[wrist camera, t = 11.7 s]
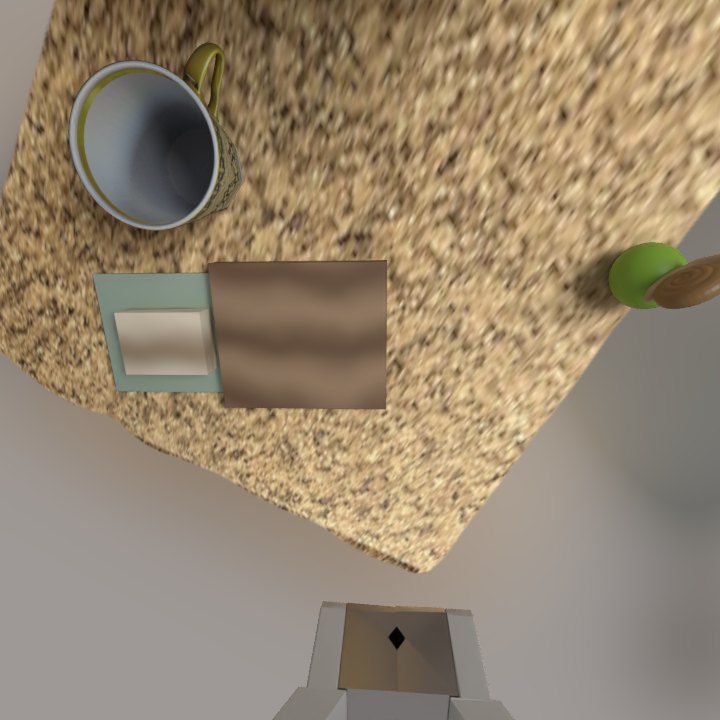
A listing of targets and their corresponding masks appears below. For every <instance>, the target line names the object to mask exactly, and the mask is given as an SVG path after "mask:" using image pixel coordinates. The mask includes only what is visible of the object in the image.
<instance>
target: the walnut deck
mask: <svg viewBox="0 0 720 720" xmlns="http://www.w3.org/2000/svg"><path fill="white" fill-rule="evenodd" d="M208 271H209V279H210V287H211V295H212V303H213V311H214V319H215V328H216V336H217V344H218V352H219V360H220V368H221V377H222V385H223V393H224V401H225V407H235V408H317V409H386V329H387V260H377V261H269V262H214V263H208Z"/></svg>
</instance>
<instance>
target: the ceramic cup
mask: <svg viewBox="0 0 720 720" xmlns="http://www.w3.org/2000/svg"><path fill="white" fill-rule="evenodd" d="M214 55H216V60H215V67H214V72H213V77H212V83H211V98H210V102H209V105H208V106H207V104H206V102H205V100H204V96H203V93H202V85H203V81H204V78H205V75H206V72H207V69H208V66H209V64H210V62H211V60H212V58H213V56H214ZM224 64H225V58H224V53H223V51H222V50H221V48H220V47H219V46H218V45H216V44H213V43H205V44H202V45H201V46H199V47H198V48H197V49H196V50H195V51H194V52H193V54H192V55H191V56H190V58H189V60H188V62H187V64H186V67H185V71H184V77H183V79H181V78H180V77H178V76H177V75H175V74H174V73H172V72H171V71H169V70H167V69H165V68H163V67H161V66H159V65H156V64H153V63H150V62H145V61H139V60H126V61H119V62H115V63H112V64H110V65H107V66H105V67H103V68H101V69H100V70H98V71H97V72H96V73H94V74H93V75H92V76H91V77H90V78H89V79H88V80H87V81H86V82H85V83H84V85H83V86H82V88H81V89H80V91H79V92H78V94H77V96H76V98H75V101H74V103H73V106H72V110H71V114H70V120H69V144H70V151H71V155H72V159H73V163H74V165H75V168H76V171H77V173H78V175H79V177H80V180H81V181H82V183H83V185H84V186H85V188H86V189H87V191H88V192H89V194H90V195H91V196H92V197H93V199H94V200H95V201H96V202H97V203H98V204H99V205H100V206H101V207H102V208H103V209H104V210H105V211H107V212H108V213H109V214H110V215H112V216H113V217H115V218H116V219H118V220H120V221H122V222H124V223H126V224H128V225H131V226H134V227H137V228H141V229H146V230H165V229H170V228H174V227H178V226H182V225H185V224H188V223H191V222H193V221H196V220H198V219H201V218H203V217H205V216H206V215H208V214H210V213H213V212H216V211H218V210H221V209H224V208H226V207H228V206H229V204H230V203H231V201H232V199H233V198H234V196H235V195H236V193H237V191H238V190H239V188H240V186H241V185H242V183H243V176H242V170H241V165H240V160H239V155H238V150H237V147H236V146H235V145H234V144H233V143H232V141H231V140H230V139H229V137H228V136H227V134H226V133H225V132H224V130H223V129H222V128H221V126H220V124H219V120H218V115H217V109H218V104H219V92H220V86H221V81H222V76H223V71H224Z"/></svg>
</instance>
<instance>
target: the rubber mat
mask: <svg viewBox="0 0 720 720" xmlns="http://www.w3.org/2000/svg"><path fill="white" fill-rule="evenodd" d="M93 278H94V283H95V288H96V293H97V298H98V303H99V307H100V312H101V317H102V322H103V327H104V331H105V336H106V341H107V346H108V351H109V356H110V360H111V365H112V370H113V375H114V380H115V385H116V389H117V391H141V392H223V385H222V377H221V368H220V360H219V352H218V344H217V336H216V328H215V319H214V311H213V303H212V295H211V287H210V279H209V273H126V274H93ZM206 307H210V308H211V316H212V324H213V332H214V340H215V347H216V355H217V363H218V367H217V368H216V369H214V370H213V371H212V372H211V373H210V374H208V375H126V371H125V366H124V361H123V356H122V351H121V346H120V341H119V336H118V331H117V326H116V321H115V316H114V313H115V312H118V311H122V310H125V309H128V308H206Z"/></svg>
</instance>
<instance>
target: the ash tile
mask: <svg viewBox="0 0 720 720" xmlns="http://www.w3.org/2000/svg"><path fill="white" fill-rule="evenodd" d="M114 316H115V321H116V326H117V331H118V336H119V341H120V346H121V351H122V356H123V361H124V366H125V371H126V375H208V374H210V373H211V372H212V371H213V370H214V369H216V368H217V367H218V363H217V355H216V347H215V340H214V332H213V324H212V316H211V308H210V307H206V308H128V309H125V310H122V311H118V312H115V313H114Z"/></svg>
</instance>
